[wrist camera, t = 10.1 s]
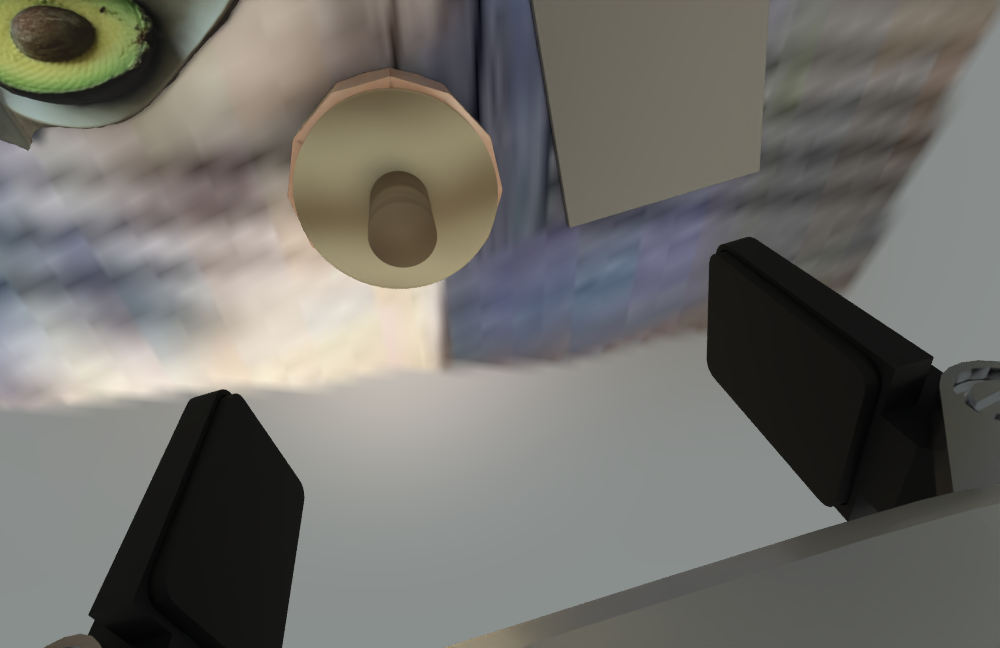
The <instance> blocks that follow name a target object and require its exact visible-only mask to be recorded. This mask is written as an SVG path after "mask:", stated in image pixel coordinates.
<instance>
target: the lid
mask: <svg viewBox="0 0 1000 648" xmlns="http://www.w3.org/2000/svg"><path fill="white" fill-rule="evenodd" d="M293 195H294V203H295V208H296V211H297V215H298V218H299V221H300V223H301V225H302V228H303V230H304V232H305V233H306V235H307V237H308V239H309V240H310V242H311V243H312V244H313V246H314V247H315V248H316V250H317V251H318V252H319V253H320V254H321V255H322V256H323V257H324V258H325V259H326V260H327V261H328V262H329V263H330V264H332V265H333V266H334V267H335V268H337V269H338V270H340V271H341V272H343V273H345V274H346V275H348V276H350V277H352V278H354V279H356V280H358V281H361V282H364V283H367V284H370V285H374V286H378V287H383V288H392V289H408V288H416V287H421V286H426V285H430V284H433V283H435V282H438V281H441V280H443V279H445V278H447V277H449V276H451V275H452V274H454V273H455V272H457V271H458V270H460V269H461V268H462V267H464V266H465V265H466V264H467V263H468V262H469V261H470V260H471V259H472V258H473V257H474V256H475V255H476V254H477V253H478V251H479V250H480V248H481V247H482V246H483V244H484V243H485V241H486V239H487V237H488V235H489V233H490V231H491V228H492V226H493V223H494V220H495V215H496V211H497V203H498V184H497V178H496V172H495V169H494V166H493V162H492V159H491V157H490V155H489V153H488V150H487V148H486V146H485V145H484V143H483V142H482V140H481V138H480V137H479V135H478V134H477V133H476V131H475V130H474V129H473V127H472V126H471V125H470V124H469V123H468V121H467V120H466V119H465V118H464V117H462V116H461V115H460V114H459V113H458V112H457V111H456V110H454V109H453V108H452V107H450V106H449V105H447V104H446V103H444V102H442V101H440V100H439V99H437V98H435V97H433V96H430V95H427V94H425V93H422V92H419V91H414V90H410V89H405V88H391V87H390V88H377V89H372V90H367V91H363V92H360V93H357V94H355V95H352V96H349V97H347V98H346V99H344V100H342V101H340V102H338V103H337V104H336V105H334V106H333V107H332V108H330V109H329V110H328V111H326V112H325V113H324V114H323V116H322V117H321V118H320V119H319V120H318V121H317V122H316V123H315V125H314V126H313V128H312V129H311V130H310V132H309V133H308V135H307V137H306V139H305V141H304V143H303V145H302V147H301V149H300V151H299V154H298V157H297V160H296V164H295V169H294V175H293Z"/></svg>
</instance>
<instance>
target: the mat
mask: <svg viewBox="0 0 1000 648" xmlns="http://www.w3.org/2000/svg"><path fill="white" fill-rule="evenodd" d="M530 3H531V9H532V15H533V21H534V27H535V33H536V39H537V45H538V51H539V57H540V63H541V69H542V75H543V81H544V87H545V93H546V99H547V105H548V111H549V117H550V123H551V129H552V135H553V141H554V147H555V153H556V159H557V165H558V171H559V177H560V183H561V190H562V196H563V202H564V208H565V214H566V220H567V225H568V226H569V227H570V228H571V227H574V226H577V225H581V224H584V223H587V222H591V221H594V220H597V219H601V218H604V217H608V216H611V215H614V214H618V213H621V212H624V211H628V210H631V209H634V208H638V207H641V206H644V205H648V204H651V203H654V202H658V201H661V200H664V199H668V198H671V197H674V196H678V195H681V194H684V193H688V192H691V191H694V190H698V189H701V188H704V187H708V186H711V185H714V184H718V183H721V182H724V181H728V180H731V179H734V178H738V177H741V176H745V175H748V174H751V173H755V172H758V171H759V169H760V152H761V135H762V118H763V101H764V84H765V67H766V50H767V33H768V16H769V0H530Z"/></svg>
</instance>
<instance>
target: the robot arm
mask: <svg viewBox="0 0 1000 648" xmlns="http://www.w3.org/2000/svg"><path fill="white" fill-rule="evenodd" d="M932 360H933V356H931V355H930V354H928V353H926V352H925V351H924V350H922V349H920V348H919V347H918V346H916V345H915V344H913V343H912V342H910V341H909V340H907V339H905V338H904V337H903V336H901V335H900V334H898V333H897V332H895V331H894V330H892V329H891V328H889V327H887V326H886V325H884V324H883V323H881V322H880V321H878V320H877V319H875V318H874V317H872V316H871V315H869V314H868V313H866V312H865V311H863V310H862V309H860V308H859V307H857V306H856V305H854V304H853V303H851V302H850V301H848V300H847V299H845V298H844V297H842V296H841V295H839V294H838V293H836V292H835V291H833V290H832V289H830V288H829V287H827V286H826V285H824V284H823V283H821V282H820V281H818V280H817V279H815V278H814V277H812V276H811V275H809V274H808V273H806V272H805V271H803V270H802V269H800V268H799V267H797V266H796V265H794V264H793V263H791V262H790V261H788V260H787V259H785V258H783V257H782V256H780V255H779V254H777V253H776V252H774V251H773V250H771V249H770V248H768V247H767V246H765V245H764V244H762V243H761V242H759V241H758V240H756V239H755V238H752V237H746V238H742V239H739V240H735V241H732V242H729V243H725V244H722V245H720V246H719V247H718V249H717V252H716V254H714V255H712V256H711V258H710V262H709V293H708V331H707V364H708V368H709V370H710V372H711V374H712V376H713V377H714V378H715V379H716V381H717V382H718V383H719V384H720V385H721V387H722V388H723V389H724V390H725V391H726V392H727V393H728V395H729V396H730V397H731V398H732V399H733V400H734V402H735V403H736V404H737V405H738V406H739V407H740V409H741V410H742V411H743V412H744V413H745V414H746V416H747V417H748V418H749V419H750V420H751V421H752V423H753V424H754V425H755V426H756V427H757V428H758V430H759V431H760V432H761V433H762V434H763V435H764V436H765V438H766V439H767V440H768V441H769V442H770V444H772V446H773V447H774V448H775V449H776V450H777V452H778V453H779V454H780V455H781V456H782V457H783V459H784V460H785V461H786V462H787V463H788V464H789V465H790V467H791V468H792V469H793V470H794V471H795V473H796V474H797V475H798V476H799V477H800V478H801V480H802V481H803V482H804V483H805V484H806V485H807V487H809V489H810V490H811V491H812V492H813V494H814V495H815V496H816V497H817V498H818V499H819V500H820V501H821V502H822V503H823V504H824V505H826V506H828V507H832V506H834V507H835V508H836V509H837V510H838V511H839V512H840V513H841V515H842V516H843V517H844V518H845V519H846V520H847V522H844V523H841V524H837V525H834V526H831V527H827V528H824V529H821V530H817V531H814V532H811V533H807V534H804V535H801V536H798V537H795V538H791V539H788V540H785V541H782V542H778V543H775V544H772V545H769V546H766V547H763V548H759V549H756V550H753V551H750V552H746V553H743V554H740V555H737V556H734V557H730V558H727V559H724V560H721V561H718V562H714V563H711V564H708V565H704V566H701V567H698V568H695V569H692V570H688V571H685V572H682V573H679V574H676V575H672V576H669V577H666V578H663V579H660V580H656V581H654V582H650V583H647V584H644V585H641V586H637V587H634V588H631V589H628V590H625V591H621V592H618V593H615V594H612V595H609V596H606V597H603V598H599V599H596V600H593V601H590V602H587V603H584V604H580V605H577V606H574V607H571V608H568V609H564V610H561V611H558V612H555V613H552V614H549V615H546V616H542V617H539V618H536V619H533V620H530V621H527V622H524V623H520V624H517V625H514V626H511V627H508V628H505V629H502V630H498V631H495V632H492V633H489V634H486V635H483V636H479V637H476V638H473V639H470V640H467V641H464V642H461V643H457V644H454V645H452V646H448V647H445V648H1000V362H999V361H980V360H978V361H970V362H962V363H959V364H957V365H954V366H951V367H949V368H948V369H947V370H946V371H945V372H944V373H943V372H941V371H940V370H938V369H937V368H935V367H934V366H933V365H931V364H932ZM303 504H304V491H303V487H302V484H301V482H300V480H299V479H298V477H297V476H296V474H295V473H294V471H293V470H292V469H291V467H290V466H289V464H288V463H287V461H286V460H285V458H284V457H283V455H282V454H281V453H280V451H279V450H278V448H277V447H276V445H275V444H274V442H273V441H272V439H271V438H270V436H269V435H268V434H267V432H266V431H265V429H264V428H263V426H262V425H261V424H260V422H259V421H258V419H257V418H256V416H255V415H254V413H253V412H252V410H251V409H250V407H249V406H248V404H247V403H246V402H245V400H244V399H243V398H242V396H241V395H239V394H231V393H230V392H229V391H227V390H223V389H222V390H218V391H215V392H211V393H208V394H204V395H201V396H198V397H194V398H192V399H190V401H189V402H188V404H187V405H186V408H185V410H184V412H183V414H182V416H181V418H180V420H179V423H178V425H177V427H176V429H175V431H174V433H173V436H172V438H171V440H170V442H169V444H168V446H167V448H166V450H165V453H164V455H163V457H162V459H161V461H160V463H159V465H158V467H157V470H156V472H155V474H154V476H153V478H152V480H151V482H150V484H149V487H148V489H147V491H146V493H145V495H144V497H143V499H142V502H141V504H140V506H139V508H138V510H137V512H136V514H135V516H134V519H133V521H132V523H131V525H130V527H129V529H128V531H127V534H126V536H125V538H124V540H123V542H122V544H121V547H120V548H119V551H118V553H117V555H116V557H115V559H114V561H113V564H112V566H111V568H110V570H109V572H108V574H107V576H106V578H105V580H104V583H103V585H102V587H101V589H100V591H99V593H98V595H97V598H96V600H95V602H94V604H93V606H92V608H91V610H90V613H89V616H90V617H92V618H93V619H94V620H95V621H94V623H93V625H92V627H91V629H90V632H89V634H88V635H84V634H77V635H72V636H68V637H64V638H62V639H60V640H58V641H56V642H54V643H52V644H50V645H48V646H46V647H44V648H282V644H283V637H284V631H285V624H286V617H287V610H288V604H289V598H290V591H291V584H292V578H293V571H294V564H295V558H296V551H297V545H298V538H299V531H300V525H301V518H302V511H303Z"/></svg>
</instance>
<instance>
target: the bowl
mask: <svg viewBox="0 0 1000 648" xmlns="http://www.w3.org/2000/svg"><path fill="white" fill-rule="evenodd" d="M390 87H391V88H405V89H410V90H414V91H419V92H422V93H425V94H427V95H430V96H433V97H435V98H437V99H439V100H440V101H442V102H444V103H446V104H447V105H449V106H450V107H452V108H453V109H454V110H456V111H457V112H458V113H459V114H460V115H461V116H462V117H464V118H465V119H466V120H467V121H468V123H469V124H470V125H471V126H472V127H473V129H474V130H475V131H476V133H477V134H478V135H479V137H480V138H481V140H482V142H483V143H484V145H485V146H486V148H487V150H488V153H489V155H490V157H491V159H492V162H493V166H494V169H495V172H496V178H497V184H498V203H497V207H498V204H499V200H500V197H501V194H502V185H501V181H500V177H499V172H498V168H497V164H496V159H495V155H494V151H493V147H492V142H491V138H490V136H489V135H488V134H487V132H486V131H485V130H484V129H483V127H482V126H481V125H480V124H479V122H478V121H477V120H476V119H475V118H474V117H473V116H472V115H471V114H470V113H469V111H468V110H467V109H466V108H465V107H464V106H463V105H462V104H461V103H460V101H459V100H458V99H457V98H456V97H455V96H454V95H453V94H452V93H451V92H450V91H449V90H448V89H447V88H446V87H445V86H444V85H443V84H442V83H440V82H436V81H433V80H430V79H429V78H426V77H424V76H421V75H418V74H416V73H412V72H407V71H403V70H397V69H393V68H390V69H389V68H386V69H382V70H375V71H370V72H365V73H362V74H359V75H356V76H354V77H351V78H349V79H347V80H343V81H340V82H337V83H336V84H335V86H334V87H333V88H332V89H331V90H330V92H329V93H328V94H327V95H326V96H325V97H324V98H323V99H322V101H321V102H320V103H319V105H318V106H317V107H316V108H315V110H314V111H313V112H312V113H311V115H310V116H309V117H308V118H307V119H306V121H305V122H304V123H303V125H302V126H301V128H300V129H299V131H298V132H297V134H296V135H295V137H294V139H293V146H292V156H291V166H290V176H289V187H288V198H289V200H290V202H291V204H292V206H293V208H294V210H295V212H296V214H297V211H296V208H295V203H294V195H293V175H294V169H295V164H296V160H297V157H298V154H299V151H300V149H301V147H302V145H303V143H304V141H305V139H306V137H307V135H308V133H309V132H310V130H311V129H312V128H313V126H314V125H315V123H316V122H317V121H318V120H319V119H320V118H321V117H322V116H323V114H324V113H325V112H326V111H328V110H329V109H330V108H332V107H333V106H334V105H336V104H337V103H338V102H340V101H342V100H344V99H346V98H347V97H349V96H352V95H355V94H357V93H360V92H363V91H367V90H372V89H377V88H390ZM297 217H298V215H297ZM298 219H299V218H298ZM489 234H490V233H489ZM488 237H489V235H488ZM488 237H487V239H488ZM487 239H486V240H487ZM309 241H310V240H309ZM310 243H311V242H310ZM311 246H312V247H314V246H313V244H312V243H311ZM314 248H315V247H314ZM315 249H316V248H315Z"/></svg>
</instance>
